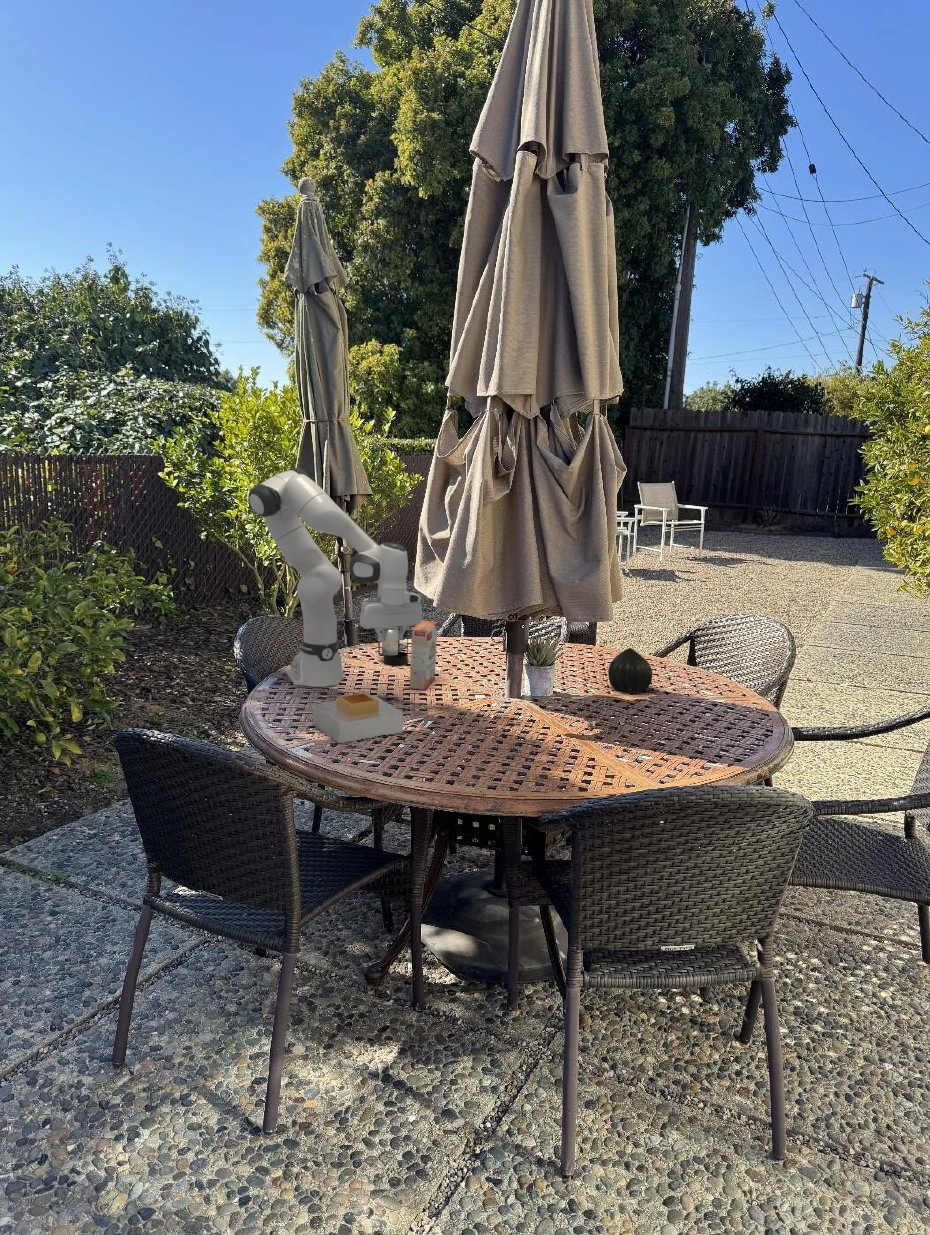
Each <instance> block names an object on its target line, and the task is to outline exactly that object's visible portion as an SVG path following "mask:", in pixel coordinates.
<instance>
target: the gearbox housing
mask: <svg viewBox="0 0 930 1235" xmlns="http://www.w3.org/2000/svg"><path fill="white" fill-rule="evenodd" d="M312 726H315V727H316V728H317V729H318V730H320V731H321V732H323V733H324V734H325V735H326V734H327V735H326V736H328V737H329V738H330V739H332V740H333V741H335V743H337V742H338V743H342V744H345V743H344V742H348V743H350V742H349V741H353V742H357V740H359V741H362V740H361V739H364V740H367V739H366V738H370V739H372V738H371V737H375V736H376V737H375V738H378V737H377V736H381V735H386V736H389V735H388V734H392V735H396V734H403V733H402V732H404V731H403V730H404V727H403V726H404V712H403V711H401V710H399V708H396V707H395V706H393V705H391V704H390V703H388V702H387V701H385V700H383V699H381V698H380V697H378V696H376V695H370V694H368V692H365V691H364V692H358V693H351V694H344V695H337V696H336V700H334V701H327V702H321V703H314V704H312ZM381 737H382V736H381ZM338 743H337V744H338Z"/></svg>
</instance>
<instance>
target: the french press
mask: <svg viewBox="0 0 930 1235" xmlns="http://www.w3.org/2000/svg"><path fill="white" fill-rule="evenodd" d="M394 627H398V628H399V631H400V629H401V628H400V627H399V626H394ZM380 632H381V634H382V632H383V630H382V631H380ZM403 638H407V639H406V640H407V641H406V643H405V644H404V643H400V641H401V640H398V654H397V655H384V654H382V652H381V642H379V641H377V643H378V645H377V646H378V649H377V654H378V656H383V658H382V663H383V664H384V665H385V666H389V667H403V666H407V665H409V660H408V659H409V630H407V629H406V630H405V632H404V634H403ZM403 650H404V651H403ZM405 650H406V651H405Z"/></svg>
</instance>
